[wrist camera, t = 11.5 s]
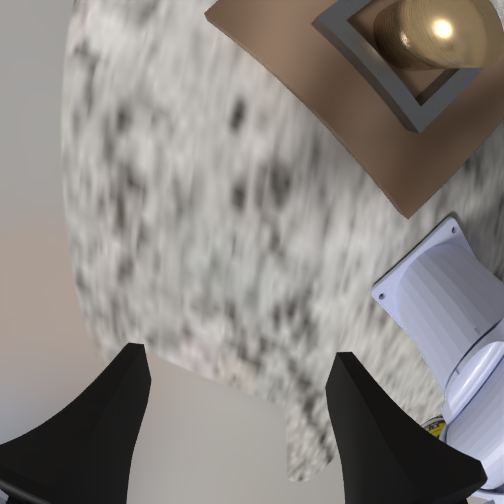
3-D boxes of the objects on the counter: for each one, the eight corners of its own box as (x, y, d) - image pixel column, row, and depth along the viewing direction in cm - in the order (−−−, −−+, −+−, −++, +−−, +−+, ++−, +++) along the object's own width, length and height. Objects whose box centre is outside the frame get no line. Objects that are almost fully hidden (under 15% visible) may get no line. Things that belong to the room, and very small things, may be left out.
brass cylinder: (447, 47, 12) (515, 39, 7) (409, 85, 14) (475, 86, 8) (401, -6, 11) (458, -37, 6) (358, 30, 12) (409, 2, 7)
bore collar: (477, 60, 12) (492, 59, 11) (406, 130, 15) (419, 133, 14) (397, -39, 10) (408, -47, 9) (310, 24, 12) (316, 17, 11)
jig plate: (513, 88, 14) (526, 90, 13) (397, 211, 18) (408, 219, 17) (366, -89, 9) (373, -98, 8) (207, 20, 13) (204, 13, 12)
